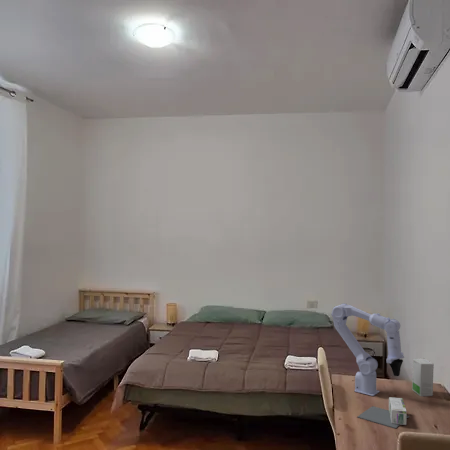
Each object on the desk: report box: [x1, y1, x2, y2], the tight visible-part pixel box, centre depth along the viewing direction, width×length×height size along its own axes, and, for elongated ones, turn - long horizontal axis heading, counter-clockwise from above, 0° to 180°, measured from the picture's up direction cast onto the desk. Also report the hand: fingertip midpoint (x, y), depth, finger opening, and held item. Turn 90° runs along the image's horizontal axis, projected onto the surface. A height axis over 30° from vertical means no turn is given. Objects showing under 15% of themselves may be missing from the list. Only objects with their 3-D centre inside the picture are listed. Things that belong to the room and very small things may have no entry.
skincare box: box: [411, 357, 435, 397], centre depth 217 cm, size 8×7×16 cm
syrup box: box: [388, 396, 407, 426], centre depth 188 cm, size 6×6×14 cm
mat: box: [356, 405, 410, 429], centre depth 190 cm, size 16×15×1 cm
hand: (396, 375), depth 211 cm, fingers closed
